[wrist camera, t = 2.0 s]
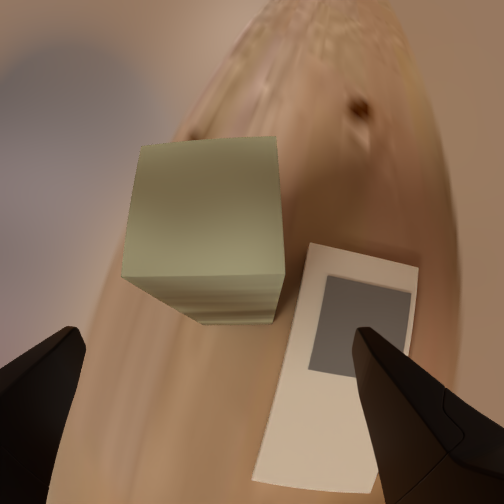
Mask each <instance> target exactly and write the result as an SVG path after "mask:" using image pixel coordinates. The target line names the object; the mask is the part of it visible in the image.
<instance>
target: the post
mask: <svg viewBox="0 0 504 504" xmlns="http://www.w3.org/2000/svg"><path fill="white" fill-rule="evenodd" d="M121 277H122V278H124V279H125V280H127V281H129V282H130V283H132V284H134V285H135V286H137V287H138V288H140V289H142V290H143V291H145V292H147V293H148V294H150V295H152V296H153V297H155V298H157V299H158V300H160V301H162V302H163V303H165V304H167V305H169V306H170V307H172V308H174V309H176V310H177V311H179V312H181V313H183V314H184V315H186V316H188V317H190V318H191V319H193V320H195V321H197V322H199V323H201V324H202V325H254V324H272V322H273V319H274V315H275V311H276V308H277V304H278V300H279V296H280V292H281V289H282V285H283V281H284V277H285V258H284V240H283V223H282V208H281V193H280V179H279V165H278V153H277V140H276V136H267V137H238V138H220V139H206V140H193V141H183V142H173V143H163V144H155V145H147V146H141V151H140V155H139V160H138V165H137V170H136V175H135V181H134V186H133V191H132V197H131V203H130V209H129V215H128V222H127V229H126V237H125V244H124V253H123V262H122V272H121Z"/></svg>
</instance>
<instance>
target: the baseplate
mask: <svg viewBox="0 0 504 504" xmlns="http://www.w3.org/2000/svg"><path fill="white" fill-rule="evenodd" d="M418 270H419V268H418V267H414V266H410V265H406V264H402V263H397V262H393V261H389V260H385V259H381V258H376V257H372V256H368V255H364V254H359V253H355V252H351V251H346V250H342V249H338V248H333V247H329V246H324V245H320V244H315V243H311V242H310V244H309V246H308V250H307V255H306V260H305V265H304V270H303V275H302V279H301V284H300V289H299V294H298V298H297V303H296V307H295V312H294V317H293V321H292V325H291V330H290V334H289V338H288V343H287V347H286V351H285V355H284V359H283V363H282V367H281V371H280V375H279V379H278V383H277V387H276V391H275V395H274V399H273V403H272V406H271V410H270V414H269V417H268V421H267V425H266V428H265V432H264V435H263V439H262V442H261V446H260V449H259V453H258V456H257V460H256V463H255V466H254V470H253V473H252V480H253V481H258V482H263V483H269V484H274V485H280V486H287V487H294V488H301V489H310V490H319V491H331V492H346V493H370V492H371V490H372V487H373V484H374V482H375V479H376V476H377V473H378V467H377V463H376V459H375V455H374V451H373V447H372V443H371V439H370V435H369V431H368V428H367V424H366V420H365V417H364V413H363V409H362V406H361V402H360V398H359V394H358V388H357V381H356V375H355V369H354V363H353V357H352V345H353V340H354V335H355V331H356V329H357V328H358V327H366V326H369V327H371V328H373V329H374V330H375V331H376V332H378V333H379V334H380V335H381V336H383V337H384V338H385V339H386V340H388V341H389V342H390V343H391V344H393V345H394V346H395V347H396V348H398V349H399V350H400V351H401V352H403V353H404V354H405V355H406V356H408V354H409V348H410V341H411V335H412V328H413V320H414V312H415V304H416V294H417V283H418Z"/></svg>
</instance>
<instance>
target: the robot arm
mask: <svg viewBox="0 0 504 504" xmlns="http://www.w3.org/2000/svg"><path fill="white" fill-rule="evenodd" d="M85 353H86V345H85V343H84V340H83V338H82V336H81V334H80V331H79V329H78V328H77V327H72V326H66V327H64V328H63V329H61V330H60V331H58V332H56V333H55V334H53V335H52V336H50V337H49V338H47V339H45V340H44V341H42V342H41V343H39V344H38V345H36V346H35V347H33V348H31V349H30V350H28V351H27V352H25V353H24V354H22V355H20V356H19V357H17V358H16V359H14V360H13V361H11V362H10V363H8V364H7V365H5V366H4V367H2V368H1V369H0V504H46V500H47V495H48V490H49V487H48V486H49V485H50V480H51V476H52V472H53V468H54V463H55V459H56V456H57V452H58V448H59V444H60V441H61V437H62V434H63V430H64V427H65V423H66V420H67V417H68V414H69V410H70V407H71V404H72V401H73V398H74V395H75V392H76V389H77V385H78V381H79V377H80V373H81V369H82V365H83V361H84V357H85ZM352 357H353V363H354V369H355V375H356V381H357V388H358V394H359V398H360V402H361V406H362V409H363V413H364V417H365V420H366V424H367V428H368V431H369V435H370V439H371V443H372V447H373V451H374V455H375V459H376V463H377V467H378V471H379V476H380V480H381V484H382V489H383V493H384V498H385V502H386V504H504V428H503V427H501V426H500V425H498V424H497V423H495V422H494V421H492V420H491V419H489V418H488V417H486V416H484V415H483V414H481V413H480V412H478V411H477V410H475V409H474V408H473V407H471V406H470V405H468V404H467V403H465V402H464V401H463V400H462V399H460V398H459V397H458V396H456V395H455V394H454V393H453V392H451V391H450V390H449V389H448V388H445V386H444V385H443V384H441V383H440V382H439V381H438V380H436V379H435V378H434V377H433V376H431V375H430V374H429V373H428V372H426V371H425V370H424V369H423V368H421V367H420V366H419V365H418V364H416V363H415V362H414V361H413V360H411V359H410V358H409V357H408V356H406V355H405V354H404V353H403V352H401V351H400V350H399V349H398V348H396V347H395V346H394V345H393V344H391V343H390V342H389V341H388V340H386V339H385V338H384V337H383V336H381V335H380V334H379V333H378V332H376V331H375V330H374V329H373V328H371V327H369V326H366V327H358V328H357V329H356V331H355V335H354V340H353V345H352Z"/></svg>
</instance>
